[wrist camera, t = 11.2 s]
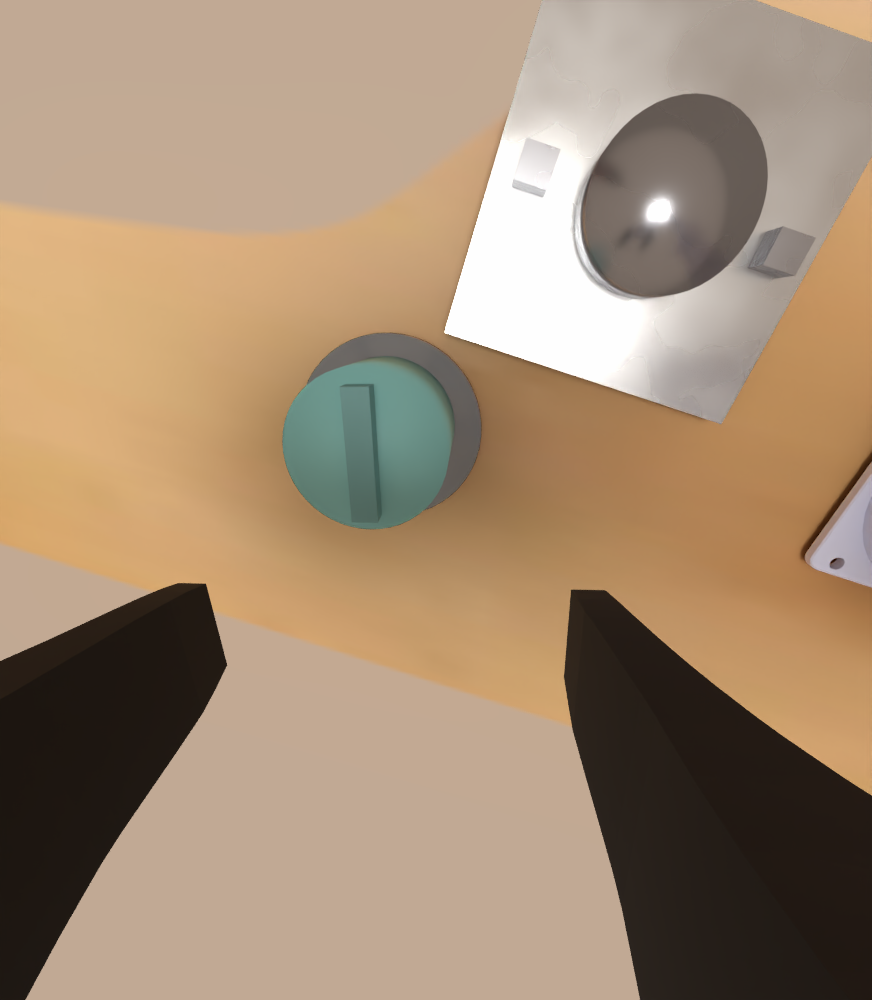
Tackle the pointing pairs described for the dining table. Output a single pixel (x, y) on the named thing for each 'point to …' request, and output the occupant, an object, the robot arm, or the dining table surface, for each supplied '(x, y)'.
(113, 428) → the dining table surface
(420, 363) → the coaster
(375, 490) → the cap
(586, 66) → the post plinth
